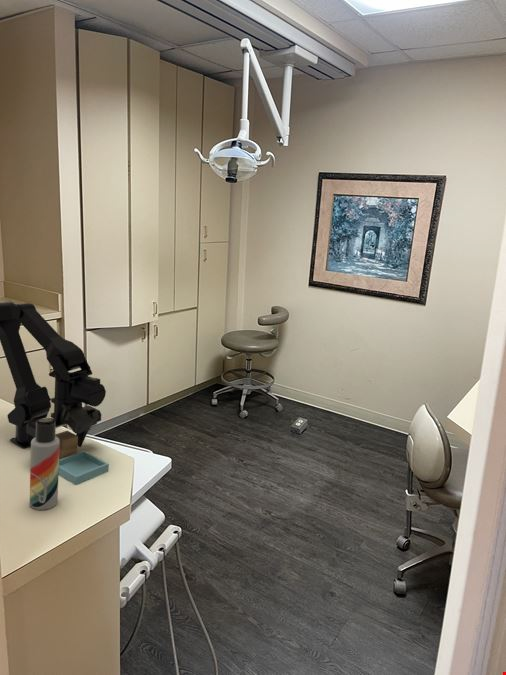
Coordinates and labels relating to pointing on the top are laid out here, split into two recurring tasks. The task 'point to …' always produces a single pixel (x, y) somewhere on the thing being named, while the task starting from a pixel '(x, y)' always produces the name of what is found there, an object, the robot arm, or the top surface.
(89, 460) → the teal tray
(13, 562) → the top surface
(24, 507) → the top surface
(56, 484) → the lotion bottle
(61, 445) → the walnut block
